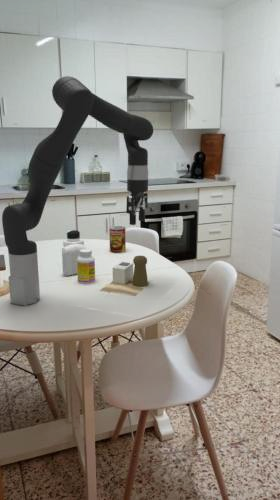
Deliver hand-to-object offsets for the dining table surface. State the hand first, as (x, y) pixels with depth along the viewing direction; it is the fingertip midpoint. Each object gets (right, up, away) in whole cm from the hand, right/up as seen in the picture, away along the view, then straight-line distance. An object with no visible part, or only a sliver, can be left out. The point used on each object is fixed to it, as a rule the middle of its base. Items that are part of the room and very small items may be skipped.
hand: (137, 222), depth 150 cm
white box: (-6, -22, +9) cm, 24 cm away
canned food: (-10, -11, +54) cm, 56 cm away
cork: (+1, -23, +5) cm, 24 cm away
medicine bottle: (-31, -13, +46) cm, 57 cm away
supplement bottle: (-20, -23, +8) cm, 31 cm away
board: (-4, -24, +3) cm, 25 cm away
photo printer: (-26, -20, +19) cm, 38 cm away
